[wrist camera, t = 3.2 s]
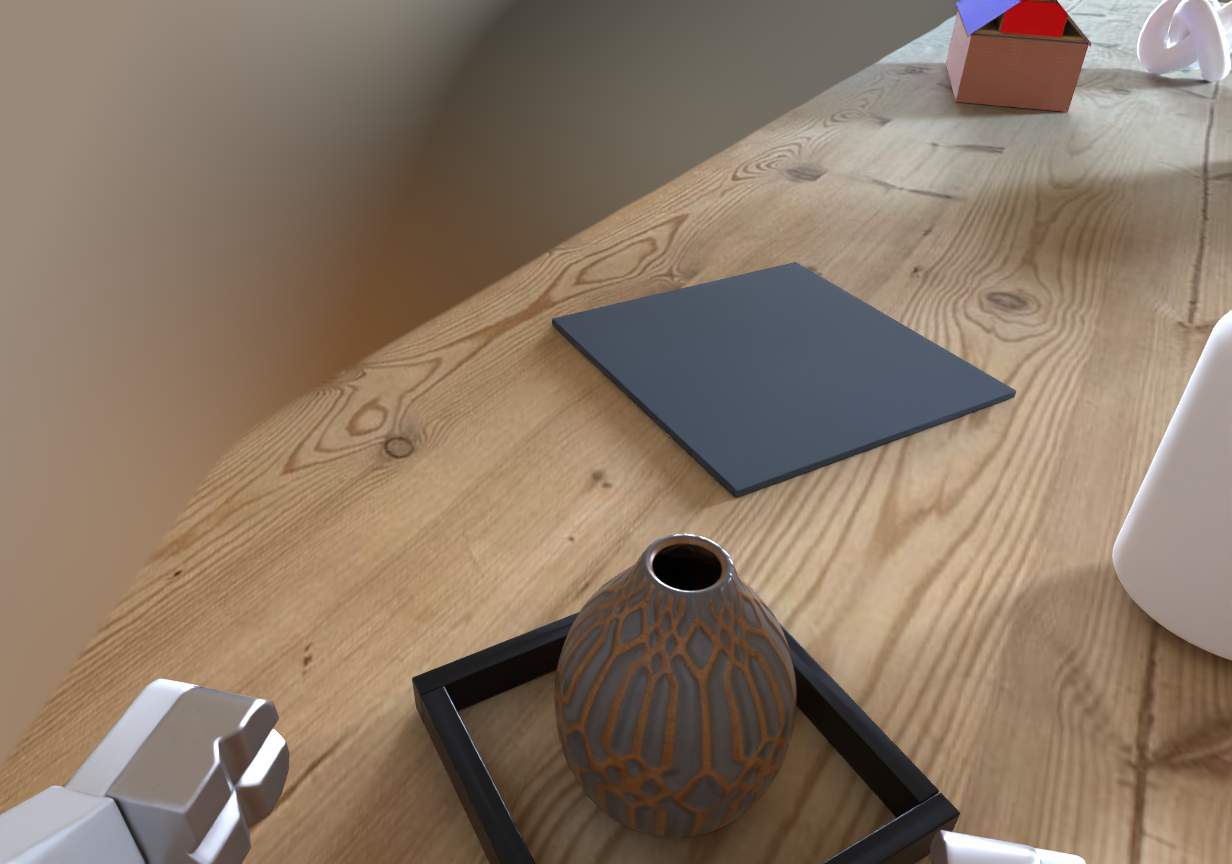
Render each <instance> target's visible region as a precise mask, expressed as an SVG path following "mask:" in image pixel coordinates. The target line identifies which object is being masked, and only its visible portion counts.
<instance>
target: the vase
mask: <svg viewBox="0 0 1232 864" xmlns="http://www.w3.org/2000/svg"><path fill="white" fill-rule="evenodd" d="M554 698H555V716H556V723H557V730H558V736H559V740H560V744H561V747H562V750H563V752H564V755H565V758H566V760H567V763H568V765H569V767H570V769H571V771H572V773H573V775H574V776H575V778H576V780H577V781H578V783H579V785H580V786H581V788H582V789H583V790H584V792H585V793H586V794H587V795H588V796H589V798H590V799H591V800H592V801H593V802H594V803H595V804H596V805H597V806H598V807H599V808H600V809H601V810H602V811H603V812H605V813H606V814H607V815H608V816H610V817H611V818H613V819H614V820H616V821H617V822H619V823H621V824H623V825H624V826H627V827H629V828H631V829H633V830H636V831H639V832H642V833H645V834H649V835H653V836H659V837H669V838H683V837H692V836H698V835H702V834H706V833H709V832H712V831H715V830H717V829H719V828H721V827H723V826H725V825H727V824H729V823H730V822H732V821H734V820H735V819H737V818H738V817H740V816H741V815H742V814H744V813H745V812H746V811H747V810H748V809H750V808H751V807H752V806H753V804H754V803H755V802H756V801H757V800H758V799H759V798H760V797H761V796H762V795H763V794H764V792H765V791H766V790H767V788H768V787H769V785H770V784H771V782H772V781H773V779H774V778H775V776H776V775H777V773H778V771H779V769H780V767H781V765H782V762H783V760H784V757H785V754H786V752H787V749H788V746H789V742H790V739H791V735H792V731H793V726H794V720H795V714H796V681H795V673H794V667H793V662H792V658H791V653H790V650H789V647H788V644H787V641H786V638H785V636H784V633H783V631H782V629H781V627H780V625H779V623H778V621H777V619H776V618H775V616H774V614H773V613H772V611H771V610H770V608H769V607H768V606H767V605H766V603H765V602H764V601H763V600H762V599H761V598H760V597H759V595H758V594H757V593H756V592H755V591H754V590H753V589H752V588H751V587H750V586H749V585H748V584H747V583H746V582H745V581H744V580H743V579H742V578H740V577H739V575H738V573H737V571H736V568H735V566H734V564H733V561H732V559H731V558H730V556H729V555H728V553H727V552H726V551H725V550H724V549H723V548H722V547H721V546H719V545H718V544H716V543H715V542H713V541H711V540H709V539H706V538H704V537H700V536H696V535H689V534H677V535H671V536H666V537H663V538H661V539H659V540H657V541H655V542H653V543H652V544H651V545H650V546H649V547H648V548H647V549H646V550H645V551H644V552H643V554H642V555H641V557H640V558H639V560H638V561H637V563H636V564H635V565H633V566H631V567H630V568H628V569H626V570H625V571H623V572H622V573H620V574H619V575H617V576H615V577H614V578H613V579H611V580H610V581H608V582H607V583H606V584H605V585H603V586H602V587H601V588H600V589H599V590H598V591H597V592H596V593H595V594H594V595H593V596H592V597H591V598H590V599H589V600H588V601H587V603H586V604H585V605H584V607H583V608H582V610H581V611H580V612H579V614H578V616H577V617H576V619H575V621H574V623H573V625H572V627H571V629H570V631H569V633H568V635H567V638H566V640H565V643H564V646H563V648H562V651H561V654H560V658H559V662H558V667H557V672H556V678H555V697H554Z"/></svg>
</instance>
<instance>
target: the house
mask: <svg viewBox="0 0 1232 864" xmlns="http://www.w3.org/2000/svg"><path fill="white" fill-rule="evenodd" d="M956 7H957V9H958V10H957V11H958V12H957V16H956V21H955V25H954V29H953V34H952V38H951V43H950V47H949V51H948V56H947V60H946V65H947V69H948V73H949V77H950V81H951V85H952V89H953V93H954V97H955V101H956V102H965V103H976V104H987V105H998V106H1008V107H1019V108H1030V109H1041V110H1052V111H1063V112H1068V109H1069V106H1070V103H1071V100H1072V96H1073V93H1074V90H1075V87H1076V84H1077V80H1078V77H1079V74H1080V71H1081V67H1082V64H1083V61H1084V58H1085V55H1086V51H1087V48H1088V45H1089V46H1091V42H1090V41H1089V40H1088V39H1087V38H1086V36H1085V35H1084V34H1083V33H1082V31H1081V30H1080V29H1079V28H1078V26H1077V25H1076V24H1075V23H1074V21H1073V20H1072V19H1071V18H1070V16H1069V15H1068V14H1067V13H1066V11H1065V10H1064V9H1063V8H1062V6H1061V5H1060V4H1059V3H1058V1H1057V0H961V1H960V2H958V3H957V4H956Z"/></svg>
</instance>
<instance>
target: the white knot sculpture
mask: <svg viewBox="0 0 1232 864" xmlns="http://www.w3.org/2000/svg"><path fill="white" fill-rule="evenodd" d="M1168 32H1169V35H1168V48H1166V46H1165V40H1166V36H1167V34H1168ZM1231 51H1232V2H1230V3H1227V4H1226V5H1224V6H1222V7H1220V5H1219V3H1218V1H1217V0H1164V1H1163V2H1162V3H1161V4H1160V5H1159V6H1158V7H1156V9H1155V10H1154V11H1153V12H1152V13H1151V15H1150V16H1149V18H1148V19H1147V21H1146V22H1145V24H1144V26H1143V29H1142V31H1141V34H1140V36H1139V40H1138V45H1137V54H1138V58H1139V61H1140V62H1141V64H1142V65H1143V66H1144V67H1145V68H1146V69H1147V70H1148V71H1150V72H1152V73H1155V74H1168V73H1173V72H1176V71H1179V70H1181V69H1184V70H1196V69H1201V74H1202V77H1203V78H1204V79H1205V80H1206V81H1210V82H1216V81H1219V80H1222V79H1223V78H1224V77H1225V76H1227V75H1228V73H1229V70H1230V68H1231V64H1230V56H1229V53H1230V52H1231Z"/></svg>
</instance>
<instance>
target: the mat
mask: <svg viewBox="0 0 1232 864" xmlns="http://www.w3.org/2000/svg"><path fill="white" fill-rule="evenodd" d="M552 325H553V326H554V327H555V328H557V329H558V330H559V331H560V332H561V333H562V334H563V335H564V336H565V337H566V338H567V339H568V340H569V341H570V342H571V343H572V344H574V345H575V346H576V347H577V348H578V349H579V350H580V351H581V352H582V353H583V354H584V355H585V356H586V357H587V358H588V359H589V360H591V361H592V362H593V363H594V364H595V365H596V366H597V367H598V368H599V369H600V370H601V371H602V372H603V373H604V374H605V375H606V376H608V377H609V378H610V379H611V380H612V381H613V382H614V383H615V384H616V385H617V386H618V387H619V388H620V389H621V390H622V391H623V392H625V393H626V394H627V395H628V396H629V397H630V398H631V399H632V400H633V401H634V402H635V403H636V404H637V405H638V406H639V407H640V408H641V409H643V410H644V411H645V412H646V413H647V414H648V415H649V416H650V417H651V418H652V419H653V420H654V421H655V422H656V423H657V424H658V425H660V426H661V427H662V428H663V429H664V430H665V431H666V432H667V433H668V434H669V435H670V436H671V437H672V438H673V439H674V440H675V441H677V442H678V443H679V444H680V445H681V446H682V447H683V448H684V449H685V450H686V451H687V452H688V453H689V454H690V455H691V456H692V457H694V458H695V459H696V460H697V461H698V462H699V463H700V464H701V465H702V466H703V467H704V468H705V469H706V470H707V471H708V472H709V473H711V474H712V475H713V476H714V477H715V478H716V479H717V480H718V481H719V482H720V483H721V484H722V485H723V486H724V487H725V488H726V489H728V490H729V491H730V492H731V493H732V494H733V495H734V496H735V497H739V496H742V495H745V494H748V493H750V492H753V491H756V490H759V489H761V488H764V487H767V486H770V485H772V484H775V483H778V482H781V481H783V480H786V479H789V478H792V477H795V476H797V475H800V474H803V473H806V472H808V471H811V470H814V469H817V468H819V467H822V466H825V465H828V464H830V463H833V462H836V461H839V460H842V459H844V458H847V457H850V456H853V455H855V454H858V453H861V452H864V451H866V450H869V449H872V448H875V447H877V446H880V445H883V444H886V443H889V442H891V441H894V440H897V439H900V438H902V437H905V436H908V435H911V434H913V433H916V432H919V431H922V430H924V429H927V428H930V427H933V426H936V425H938V424H941V423H944V422H947V421H949V420H952V419H955V418H958V417H960V416H963V415H966V414H969V413H971V412H974V411H977V410H980V409H982V408H985V407H988V406H991V405H994V404H996V403H999V402H1002V401H1005V400H1007V399H1010V398H1013V397H1014V396H1015V394H1016V390H1014V389H1012V388H1010V387H1009V386H1007V385H1005V384H1004V383H1002V382H1000V381H998V380H997V379H995V378H993V377H992V376H990V375H988V374H986V373H985V372H983V371H981V370H980V369H978V368H976V367H974V366H973V365H971V364H969V363H968V362H966V361H964V360H962V359H961V358H959V357H957V356H956V355H954V354H952V353H950V352H949V351H947V350H945V349H944V348H942V347H940V346H939V345H937V344H935V343H933V342H932V341H930V340H928V339H927V338H925V337H923V336H921V335H920V334H918V333H916V332H915V331H913V330H911V329H909V328H908V327H906V326H904V325H903V324H901V323H899V322H897V321H896V320H894V319H892V318H891V317H889V316H887V315H885V314H884V313H882V312H880V311H879V310H877V309H875V308H873V307H872V306H870V305H868V304H867V303H865V302H863V301H861V300H860V299H858V298H856V297H855V296H853V295H851V294H849V293H848V292H846V291H844V290H843V289H841V288H839V287H837V286H836V285H834V284H832V283H831V282H829V281H827V280H825V279H824V278H822V277H820V276H819V275H817V274H815V273H813V272H812V271H810V270H808V269H807V268H805V267H803V266H801V265H800V264H798V263H796V262H794V263H790V264H786V265H781V266H777V267H773V268H768V269H764V270H760V271H756V272H751V273H747V274H743V275H738V276H734V277H730V278H725V279H721V280H717V281H712V282H708V283H704V284H700V285H695V286H691V287H687V288H682V289H678V290H674V291H669V292H665V293H661V294H657V295H652V296H648V297H644V298H639V299H635V300H631V301H626V302H622V303H618V304H613V305H609V306H605V307H601V308H596V309H592V310H588V311H583V312H579V313H575V314H570V315H566V316H562V317H557V318H553V319H552Z"/></svg>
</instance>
